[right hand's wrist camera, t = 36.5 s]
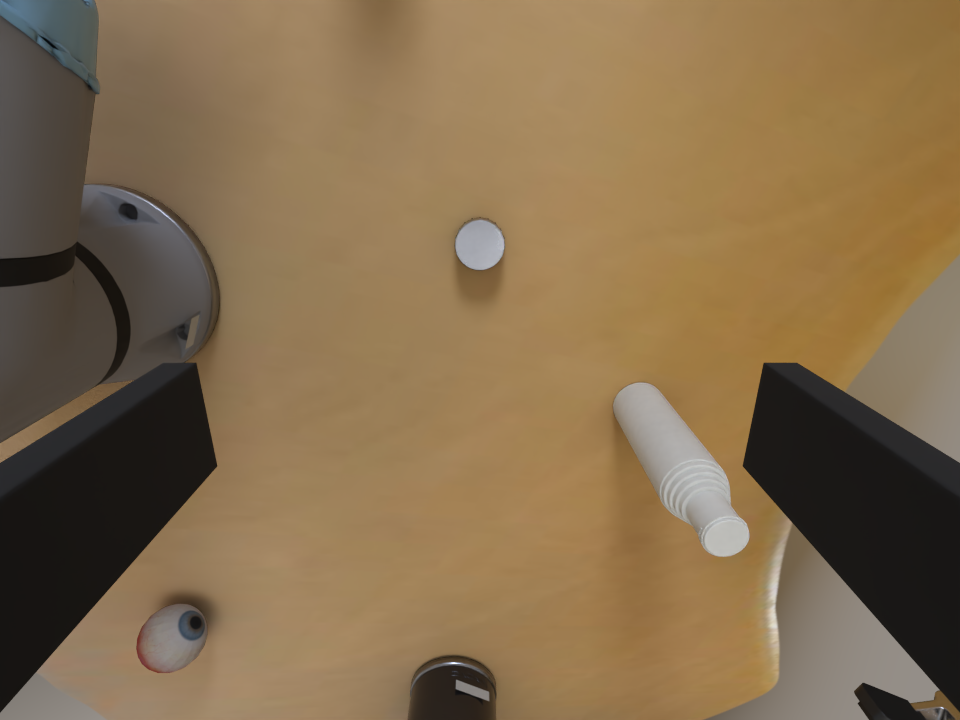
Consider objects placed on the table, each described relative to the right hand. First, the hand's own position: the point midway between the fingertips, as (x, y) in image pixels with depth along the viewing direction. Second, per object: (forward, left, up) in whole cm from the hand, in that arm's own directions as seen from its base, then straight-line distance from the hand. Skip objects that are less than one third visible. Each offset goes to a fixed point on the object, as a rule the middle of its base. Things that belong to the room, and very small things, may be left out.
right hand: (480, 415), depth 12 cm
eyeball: (-39, -29, -30) cm, 57 cm away
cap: (0, 0, -29) cm, 29 cm away
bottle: (+10, -17, -30) cm, 36 cm away
